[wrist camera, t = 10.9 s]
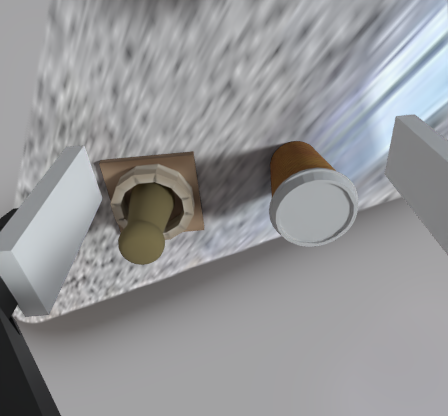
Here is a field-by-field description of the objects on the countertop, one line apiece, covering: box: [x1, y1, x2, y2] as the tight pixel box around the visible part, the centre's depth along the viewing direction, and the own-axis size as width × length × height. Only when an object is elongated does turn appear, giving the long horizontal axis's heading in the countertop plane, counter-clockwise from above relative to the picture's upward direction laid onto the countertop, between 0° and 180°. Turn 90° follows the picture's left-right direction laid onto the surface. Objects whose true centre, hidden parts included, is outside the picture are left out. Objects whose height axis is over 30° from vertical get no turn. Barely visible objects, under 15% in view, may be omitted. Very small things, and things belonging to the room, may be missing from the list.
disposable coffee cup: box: [269, 141, 358, 246], centre depth 42 cm, size 10×10×12 cm
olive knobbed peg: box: [118, 182, 175, 265], centre depth 44 cm, size 6×6×11 cm
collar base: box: [99, 152, 204, 240], centre depth 48 cm, size 12×12×4 cm
